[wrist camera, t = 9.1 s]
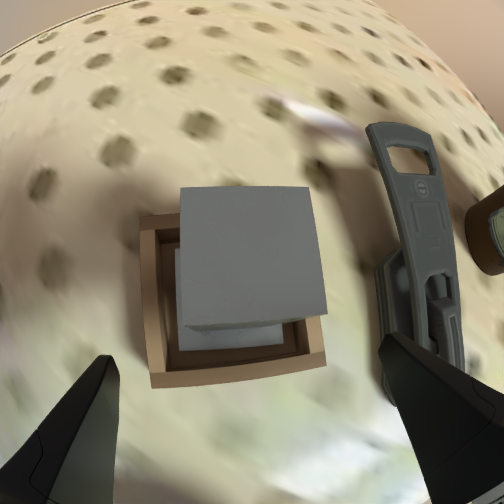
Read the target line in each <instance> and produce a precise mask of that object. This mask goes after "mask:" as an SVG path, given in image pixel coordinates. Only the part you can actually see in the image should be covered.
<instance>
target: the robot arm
mask: <svg viewBox="0 0 504 504" xmlns="http://www.w3.org/2000/svg"><path fill="white" fill-rule="evenodd" d="M378 355H379V358H380V361H381V365H382V368H383V371H384V374H385V377H386V380H387V384H388V387H389V389H390V392H391V395H392V397H393V399H394V402H395V404H396V406H397V409H398V411H399V414H400V416H401V419H402V421H403V424H404V426H405V429H406V431H407V434H408V436H409V439H410V442H411V444H412V447H413V449H414V452H415V455H416V458H417V460H418V463H419V466H420V469H421V472H422V474H423V477H424V481H425V484H426V487H427V490H428V493H429V496H430V499H431V502H432V504H467V503H469V502H472V503H471V504H504V394H502V393H500V392H498V391H496V390H494V389H492V388H490V387H489V386H487V385H485V384H483V383H482V382H480V381H478V380H476V379H475V378H473V377H472V376H471V377H470V375H468V374H467V373H465V372H463V371H462V370H460V369H458V368H457V367H455V366H453V365H452V364H450V363H448V362H447V361H445V360H444V359H442V358H440V357H439V356H437V355H435V354H434V353H432V352H430V351H429V350H427V349H425V348H424V347H422V346H420V345H419V344H417V343H415V342H414V341H412V340H410V339H409V338H407V337H405V336H404V335H402V334H400V333H399V332H397V331H393V332H388V333H386V334H385V335H384V337H383V340H382V342H381V344H380V346H379V349H378ZM119 388H120V374H119V371H118V368H117V366H116V363H115V361H114V359H113V357H112V356H111V355H99V356H98V357H97V358H96V359H95V360H94V361H93V362H92V364H91V365H90V366H89V367H88V368H87V369H86V370H85V372H84V373H83V374H82V375H81V376H80V377H79V378H78V380H77V381H76V382H75V383H74V384H73V385H72V387H71V388H70V389H69V390H68V391H67V393H66V394H65V395H64V396H63V397H62V398H61V400H60V401H59V402H58V403H57V404H56V406H55V407H54V408H53V409H52V410H51V412H50V413H49V414H48V415H47V416H46V418H45V419H44V420H43V421H42V423H41V424H40V425H39V426H38V428H37V429H38V430H37V429H36V430H35V431H34V432H33V434H32V435H31V436H30V437H29V439H28V440H27V441H26V442H25V443H24V445H23V446H22V447H21V448H20V449H19V450H18V451H17V452H16V453H15V454H14V456H13V457H12V458H11V459H10V460H9V461H8V462H7V463H6V464H5V465H4V466H3V467H2V468H1V469H0V504H113V482H114V466H115V453H116V443H117V433H118V424H119Z"/></svg>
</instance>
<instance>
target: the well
mask: <svg viewBox="0 0 504 504" xmlns="http://www.w3.org/2000/svg"><path fill="white" fill-rule="evenodd" d="M178 248H180V213H177V214H165V215H154V216H144V217H140V270H141V291H142V307H143V320H144V331H145V341H146V350H147V358H148V366H149V373H150V380H151V387H152V389H155V388H175V387H190V386H202V385H212V384H222V383H230V382H238V381H245V380H252V379H259V378H265V377H272V376H277V375H283V374H289V373H294V372H299V371H304V370H309V369H313V368H318V367H323V366H327V365H326V357H325V349H324V342H323V335H322V328H321V321H320V316H317V317H312V318H307V319H303V320H298V321H293V322H288V323H283V324H282V331H283V342H284V343H283V344H274V345H264V346H254V347H242V348H229V349H213V350H192V351H179V339H178V324H177V304H176V276H175V249H178Z"/></svg>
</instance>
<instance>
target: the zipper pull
mask: <svg viewBox="0 0 504 504" xmlns="http://www.w3.org/2000/svg"><path fill="white" fill-rule="evenodd" d="M365 131H366V134H367V136H368V139H369V141H370V144H371V147H372V150H373V152H374V155H375V158H376V161H377V164H378V167H379V170H380V172H381V175H382V178H383V181H384V184H385V187H386V190H387V194H388V197H389V200H390V204H391V207H392V211H393V215H394V218H395V222H396V226H397V230H398V234H399V238H400V242H401V246H402V247H401V248H399V249H397V250H395V251H394V252H392V253H390V254H389V255H388V256H387V257H386V258H385V259H384V260H383V261H382V262H381V264H380V265H379V266H378V267H377V268H376V269H375V282H376V291H377V300H378V310H379V322H380V335H381V342H382V340H383V337H384V335H385V334H386V333H388V332H393V331H397V332H399V333H400V334H402V335H404V336H405V337H407V338H409V339H410V340H412V341H414V342H415V343H417V344H419V345H420V346H422V347H424V348H425V349H427V350H429V351H430V352H432V353H434V354H435V355H437V356H439V357H440V358H442V359H444V360H445V361H447V362H448V363H450V364H452V365H453V366H455V367H457V368H458V369H460V370H462V371H463V372H465V358H464V346H463V336H462V329H461V306H460V292H459V282H458V273H457V262H456V253H455V245H454V237H453V230H452V224H451V218H450V212H449V207H448V202H447V197H446V192H445V187H444V183H443V179H442V174H441V170H440V166H439V162H438V158H437V155H436V151H435V148H434V145H433V141H432V138H431V135H429V134H428V133H426V132H424V131H422V130H420V129H418V128H415V127H412V126H409V125H406V124H400V123H395V122H379V123H373V124H369V125H368V126H367V127H366V129H365ZM391 146H395V147H403V148H411V149H415V150H418V151H420V152H422V153H423V154H424V155H425V158H426V161H427V164H428V167H429V171H430V173H429V175H425V174H411V173H398V172H397V171H396V170H395V168H394V167H393V166H392V164H391V161H390V157H389V154H388V151H387V147H391ZM382 386H383V388H384V389H385V391H386V393H387V395H388V397H389V399H390V400H391V402H392V404H393V406H395V407H397V406H396V404H395V402H394V399H393V397H392V395H391V392H390V389H389V387H388V384H387V380H386V377H385V374H384V371H383V368H382Z"/></svg>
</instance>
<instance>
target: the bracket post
mask: <svg viewBox="0 0 504 504" xmlns="http://www.w3.org/2000/svg"><path fill="white" fill-rule="evenodd" d="M175 276H176V304H177V324H178V339H179V351H192V350H213V349H229V348H242V347H254V346H264V345H274V344H283V343H284V342H283V331H282V324H283V323H288V322H293V321H298V320H303V319H307V318H312V317H317V316H321V315H325V314H328V312H327V304H326V295H325V287H324V280H323V272H322V265H321V258H320V251H319V245H318V238H317V232H316V226H315V220H314V214H313V208H312V203H311V197H310V192H309V187H286V186H221V187H186V188H181V190H180V248H178V249H175Z"/></svg>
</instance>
